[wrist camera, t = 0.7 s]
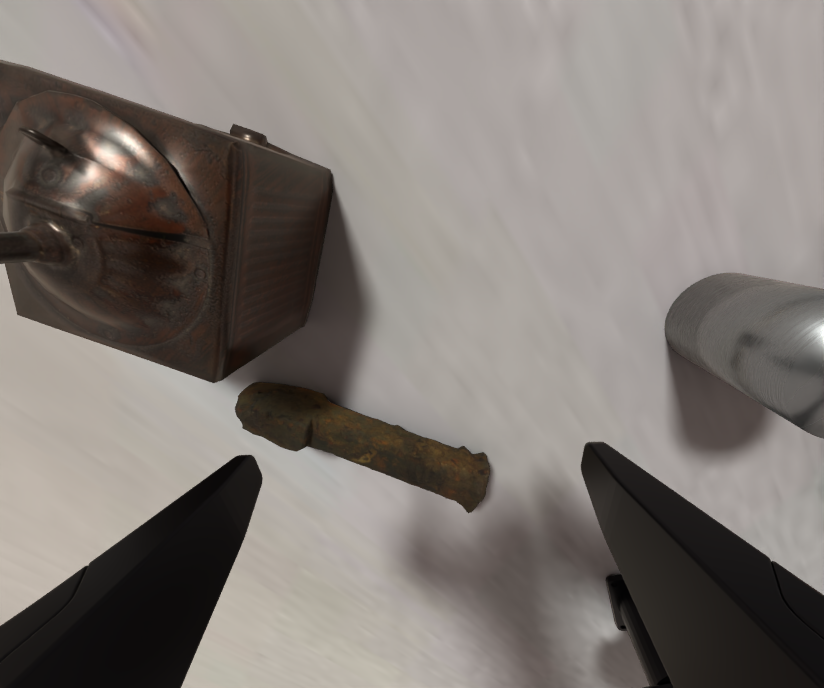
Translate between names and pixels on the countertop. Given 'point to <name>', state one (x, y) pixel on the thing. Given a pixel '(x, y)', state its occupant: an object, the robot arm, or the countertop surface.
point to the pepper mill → (153, 226)
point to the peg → (757, 341)
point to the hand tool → (362, 441)
